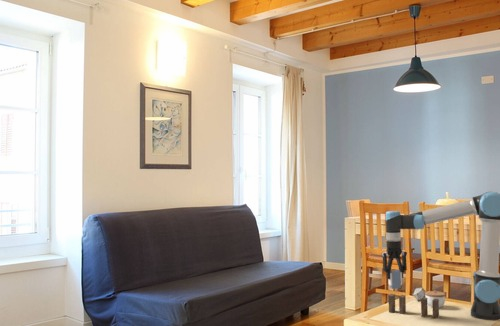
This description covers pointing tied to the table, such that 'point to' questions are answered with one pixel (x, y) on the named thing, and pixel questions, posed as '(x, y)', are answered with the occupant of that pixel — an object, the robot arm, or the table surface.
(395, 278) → the domino
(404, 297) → the domino
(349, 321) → the table surface
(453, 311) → the table surface
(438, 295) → the lidded jar
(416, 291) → the game die
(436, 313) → the domino
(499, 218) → the robot arm
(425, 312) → the domino
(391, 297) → the domino
